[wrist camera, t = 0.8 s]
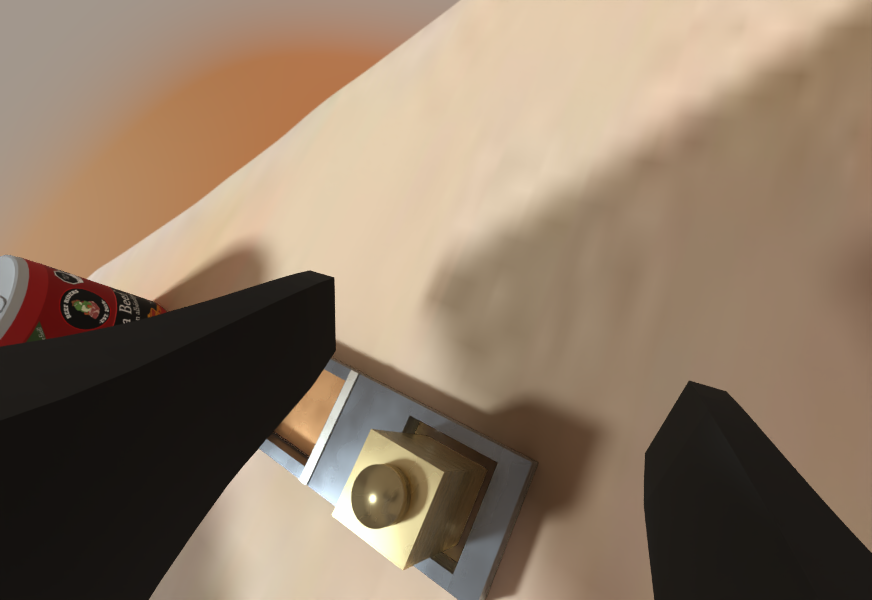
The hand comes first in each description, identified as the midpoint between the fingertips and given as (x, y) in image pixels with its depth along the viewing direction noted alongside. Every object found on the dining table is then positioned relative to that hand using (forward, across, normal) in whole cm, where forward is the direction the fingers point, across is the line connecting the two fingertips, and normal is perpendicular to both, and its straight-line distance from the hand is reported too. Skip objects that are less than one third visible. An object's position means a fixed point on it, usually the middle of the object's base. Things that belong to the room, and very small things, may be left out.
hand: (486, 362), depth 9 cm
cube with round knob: (+7, +1, +15) cm, 17 cm away
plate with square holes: (+8, +6, +16) cm, 19 cm away
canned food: (+14, +31, +21) cm, 40 cm away
